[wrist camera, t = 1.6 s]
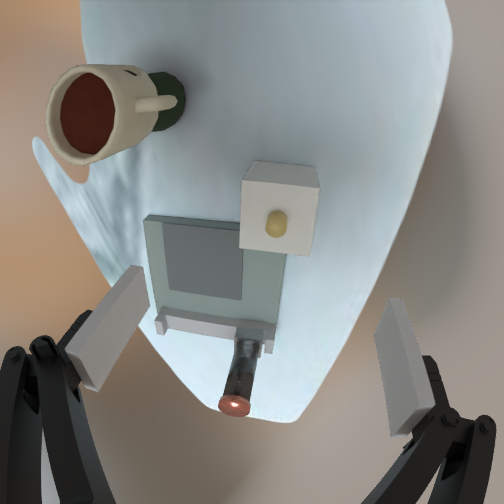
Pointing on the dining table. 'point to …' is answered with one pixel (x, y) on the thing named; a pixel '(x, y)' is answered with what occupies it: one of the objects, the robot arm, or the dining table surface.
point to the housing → (278, 208)
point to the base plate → (211, 279)
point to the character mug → (109, 110)
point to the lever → (241, 372)
